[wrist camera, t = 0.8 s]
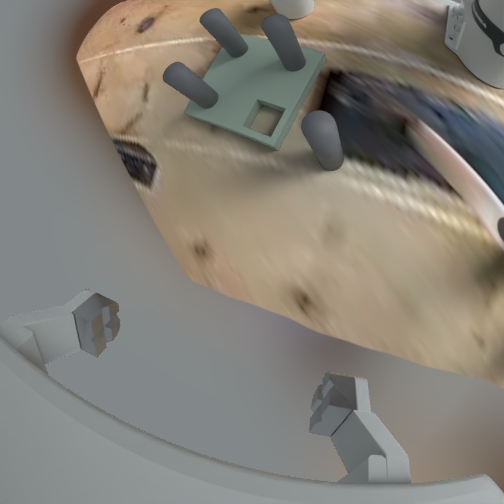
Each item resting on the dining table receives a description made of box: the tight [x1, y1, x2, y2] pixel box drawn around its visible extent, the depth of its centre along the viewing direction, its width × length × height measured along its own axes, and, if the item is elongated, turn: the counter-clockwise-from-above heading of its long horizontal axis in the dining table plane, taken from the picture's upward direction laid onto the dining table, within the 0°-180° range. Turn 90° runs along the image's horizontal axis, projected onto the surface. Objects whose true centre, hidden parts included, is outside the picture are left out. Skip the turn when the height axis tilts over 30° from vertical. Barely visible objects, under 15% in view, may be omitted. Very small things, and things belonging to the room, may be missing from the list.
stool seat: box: [163, 8, 326, 150], centre depth 40 cm, size 20×20×14 cm
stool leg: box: [301, 111, 344, 170], centre depth 36 cm, size 4×4×14 cm
